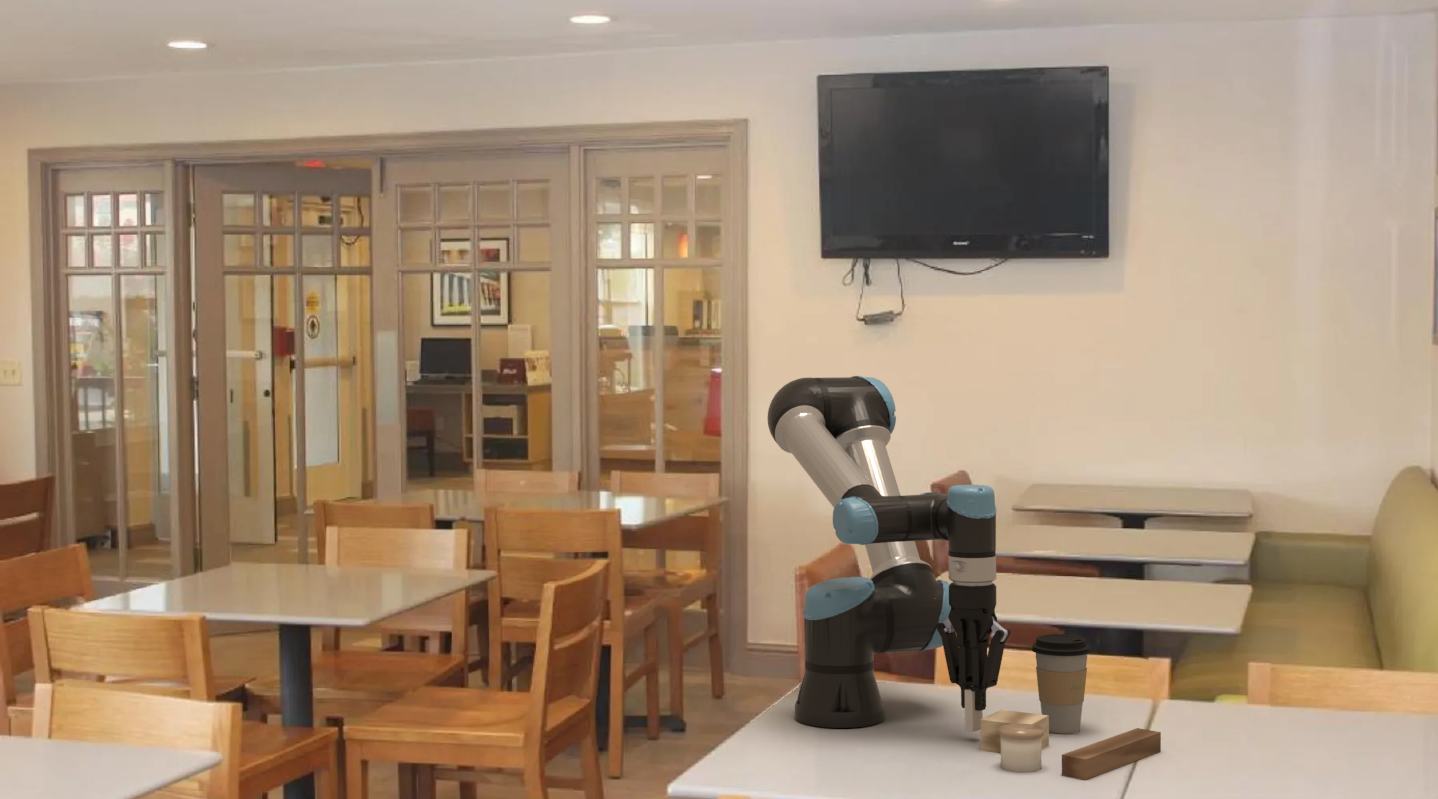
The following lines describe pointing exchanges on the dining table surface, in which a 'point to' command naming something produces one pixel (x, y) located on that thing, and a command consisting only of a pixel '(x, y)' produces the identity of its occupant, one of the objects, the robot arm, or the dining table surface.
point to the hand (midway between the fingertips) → (973, 729)
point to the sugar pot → (1021, 747)
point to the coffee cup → (1061, 679)
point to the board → (1110, 753)
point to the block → (1002, 717)
